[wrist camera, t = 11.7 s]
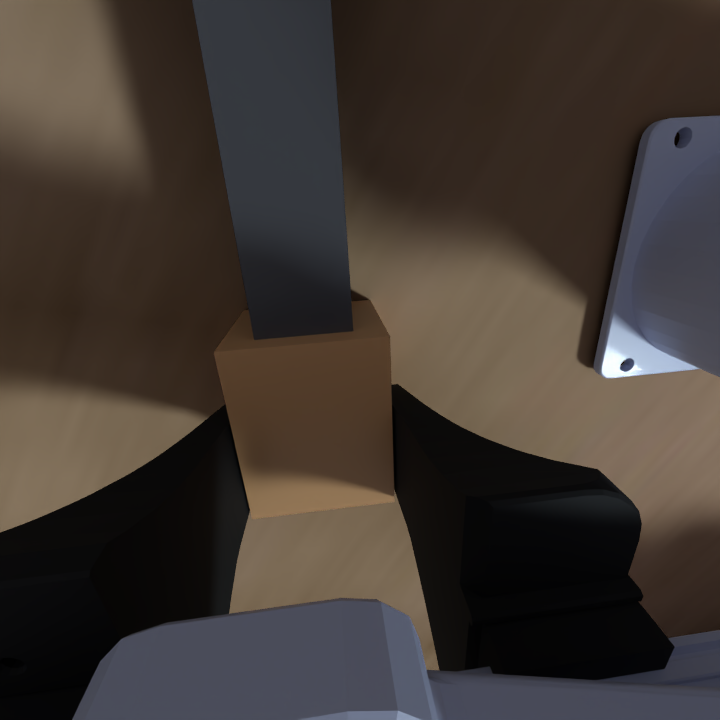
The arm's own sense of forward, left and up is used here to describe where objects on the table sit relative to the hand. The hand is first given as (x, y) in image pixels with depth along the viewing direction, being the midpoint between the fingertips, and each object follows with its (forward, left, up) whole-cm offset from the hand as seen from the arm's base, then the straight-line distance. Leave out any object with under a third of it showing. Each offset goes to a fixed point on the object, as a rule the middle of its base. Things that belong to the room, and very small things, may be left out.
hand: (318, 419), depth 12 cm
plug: (0, -6, -1) cm, 6 cm away
